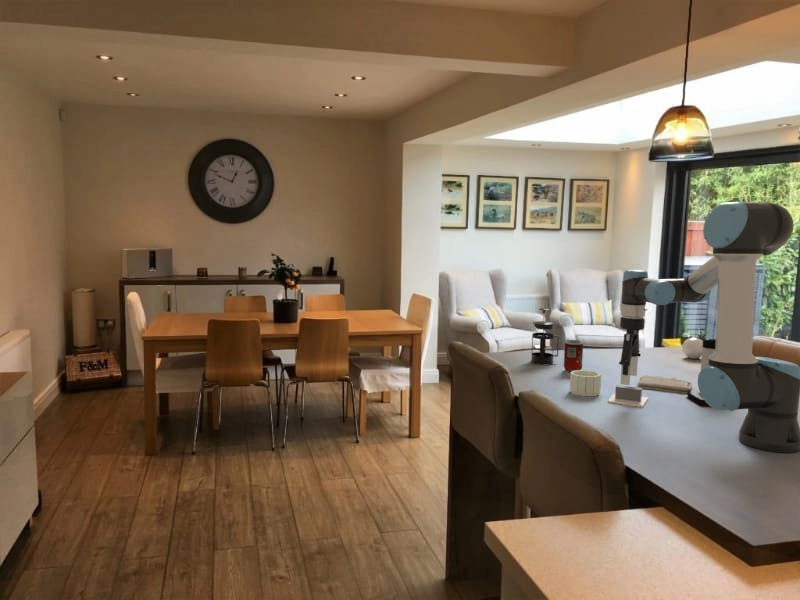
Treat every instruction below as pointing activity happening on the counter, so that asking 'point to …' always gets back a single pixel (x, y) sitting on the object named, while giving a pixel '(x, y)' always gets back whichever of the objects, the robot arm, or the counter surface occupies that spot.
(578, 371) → the cream round tub
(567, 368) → the soda can
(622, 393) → the cover
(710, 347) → the travel mug
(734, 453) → the counter surface
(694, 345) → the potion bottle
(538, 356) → the french press
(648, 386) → the washcloth
